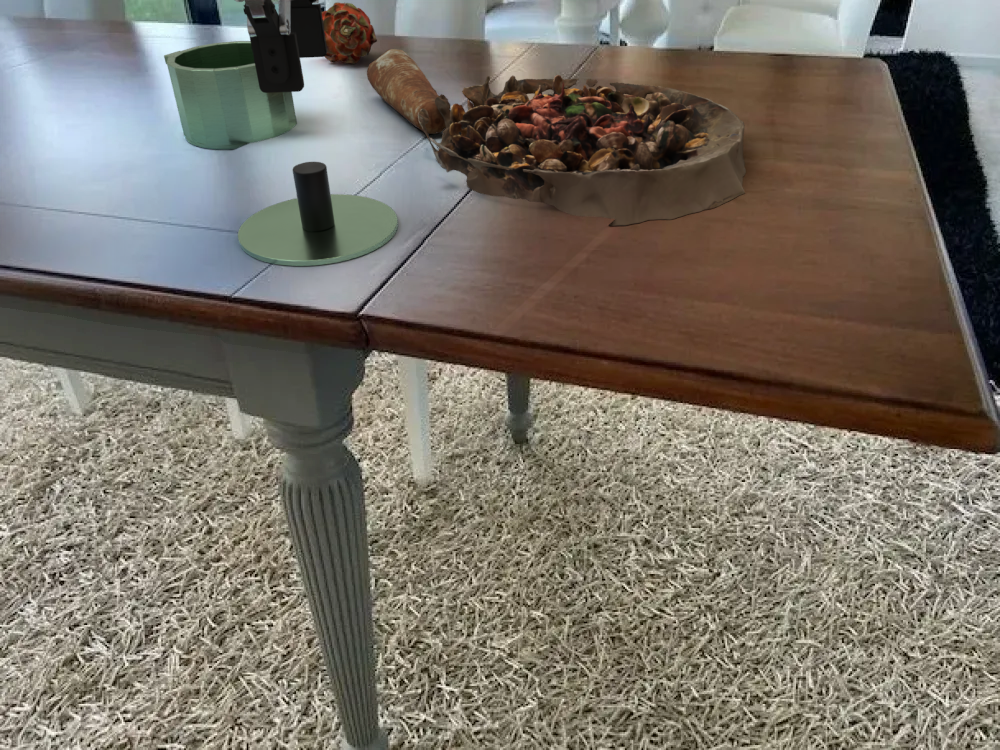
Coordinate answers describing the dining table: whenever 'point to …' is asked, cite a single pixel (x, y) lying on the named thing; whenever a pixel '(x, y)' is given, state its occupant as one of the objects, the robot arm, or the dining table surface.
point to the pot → (226, 97)
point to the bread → (405, 88)
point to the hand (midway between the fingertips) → (296, 72)
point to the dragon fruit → (347, 33)
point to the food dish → (594, 148)
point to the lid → (317, 224)
